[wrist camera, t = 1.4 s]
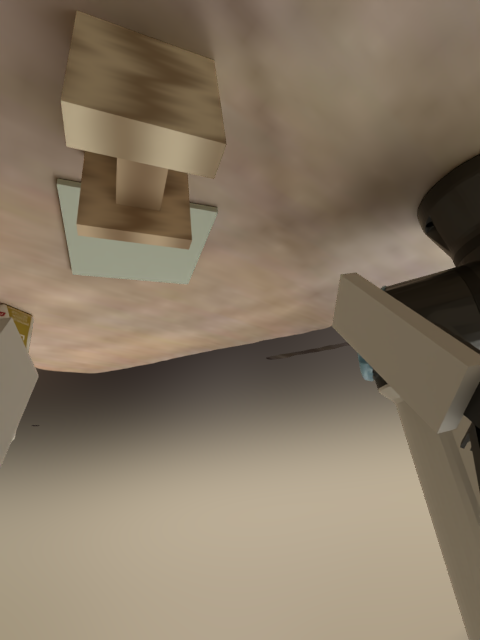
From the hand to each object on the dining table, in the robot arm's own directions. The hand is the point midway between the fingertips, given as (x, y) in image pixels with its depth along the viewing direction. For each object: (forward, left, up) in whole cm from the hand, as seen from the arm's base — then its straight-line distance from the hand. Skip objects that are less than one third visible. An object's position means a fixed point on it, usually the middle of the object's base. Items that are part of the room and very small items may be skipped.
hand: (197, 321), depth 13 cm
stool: (+2, +8, -24) cm, 26 cm away
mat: (+1, +26, -24) cm, 36 cm away
